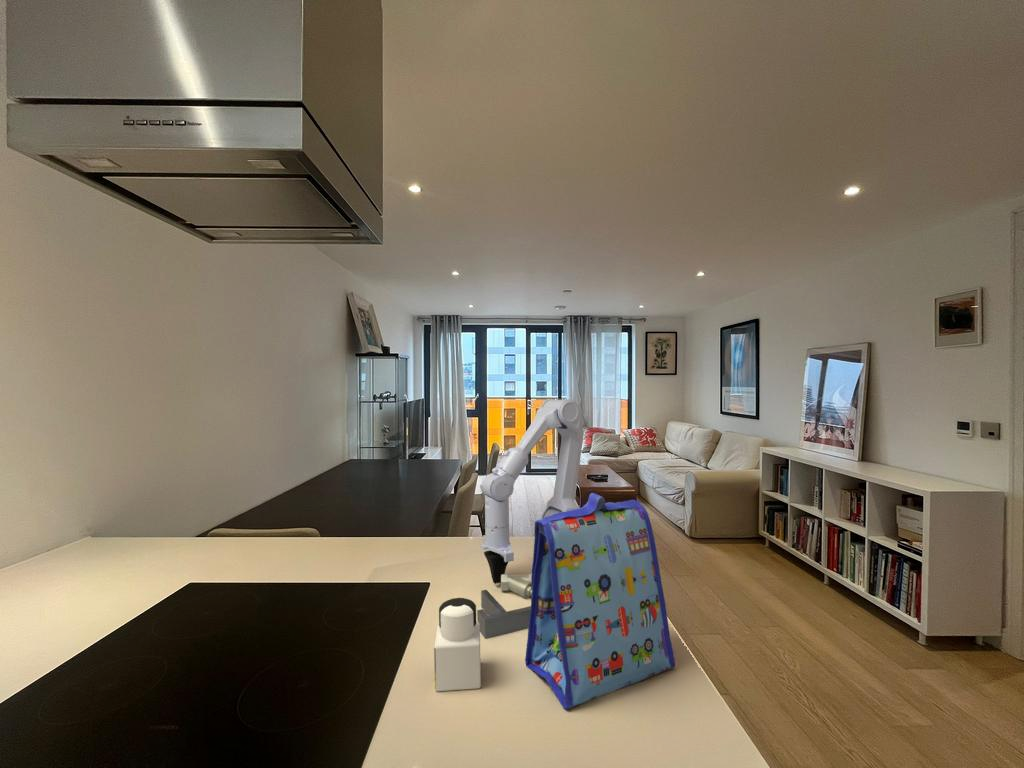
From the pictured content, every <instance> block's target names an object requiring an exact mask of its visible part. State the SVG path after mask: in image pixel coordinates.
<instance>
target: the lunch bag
mask: <svg viewBox="0 0 1024 768" xmlns="http://www.w3.org/2000/svg"><path fill="white" fill-rule="evenodd" d="M578 508H579V509H575V510H570V511H566V512H561V513H556V514H553V515H551V516H548V517H545V518H543V519H542V518H541V519H538V520H535V521H534V532H533V533H534V540H533V541H534V543H533V558H532V567H531V574H532V575H531V581H532V586H533V587H532V596H531V600H530V606H531V608H530V618H529V627H528V628H527V640H526V649H525V659H524V662H525V663H524V664H525V666H526V668H528V669H529V670H530V671H531V672H534V673H536V674H537V675H538V676H540V677H541V678H542V679H545V680H546V682H547V684H548V685H549V687H550V689H551V690H552V692H553V693H554V695H555V696H556V698H557V699H558V701H559V702H560V705H562V706H561V707H562V708H563V709H565V710H568V709H571V708H573V707H575V706H578V705H581V704H584V703H586V702H590V701H592V700H594V699H596V698H598V697H601V696H604V695H607V694H610V693H612V692H614V691H617V690H619V689H622V688H625V687H627V686H630V685H632V684H635V683H637V682H640V681H643V680H645V679H648V678H650V677H652V676H655V675H657V674H660V673H662V672H665V671H668V670H669V669H674V668H675V667H676V659H675V655H674V649H673V644H672V641H671V640H672V639H671V634H670V628H669V627H670V626H669V622H668V613H667V612H668V611H667V606H666V600H665V595H664V588H663V583H662V578H661V577H662V576H661V571H660V570H661V569H660V565H659V559H658V553H657V545H656V541H655V536H654V535H655V534H654V532H653V528H652V523H651V520H650V516H649V513H648V511H647V509H646V507H645V506H644V505H643V504H642V503H641V502H639V501H637V500H636V499H630V500H623V501H617V502H611V501H610V502H609V501H608V502H606V500H605V498H604V497H603V496H601V495H599V494H597V493H595V492H591V493H590V494H589V496H588V500H587V502H586V504H584V505H583V506H582V507H578Z"/></svg>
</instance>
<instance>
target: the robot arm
mask: <svg viewBox="0 0 1024 768" xmlns="http://www.w3.org/2000/svg"><path fill="white" fill-rule="evenodd" d="M582 416H583V409H582V408H581V407H580V405H579V404H578V403H577V401H575V400H573V399H570V398H567V399H556V398H555V399H554V398H548V399H546V400H544V401H543V403H542V404H541V406H540V407H539V408H538V409H537V410H536V414H535V417H534V418H533V420H532V422H531V424H530V425H529V427H528V428H527V430H526V431H525V433H524V434H523V435H522V437H521V439H520V441H519V442H518V444H516V446H514V447H510V448H508V450H504V451H503V453H502V455H503V457H502V458H501V460H500V461H499V462H498V463H497V465H496V467H493V468H492V469H491V472H492V473H491V472H490V473H489V474H487V475H486V476H484V478H483V480H482V483H481V484H480V491H481V493H482V494H483V495H484V526H485V527H484V529H485V532H484V535H482V544H480V549H482V550H483V554H484V557H485V558H486V560H487V564H488V566H489V571H490V575H491V579H492V582H493V583H494V584H501V575H502V574H505V573H506V571H507V566H508V564H509V562H514V561H515V559H514V558H515V557H514V551H513V549H512V545H511V542H510V504H509V503H510V501H509V500H510V497H511V496H512V495H513V493H514V485H515V483H516V481H517V479H518V478H519V477H520V476H521V473H522V472H523V471H524V469H525V468H526V466H527V465H528V463H529V454H530V452H532V451H533V449H534V448H535V447H536V445H537V444H538V443H539V441H540V440H541V439H542V438H543V436H544V435H545V434H546V433H547V432H548V431H550V430H553V429H555V430H556V431H557V432H558V433H559V434H560V436H561V442H560V447H559V448H560V449H559V455H558V462H557V469H556V476H555V481H554V489H553V496H552V497H551V498H550V499H548V501H547V503H546V507H545V509H544V511H543V512H542V515H541V519H543V518H545V517H548V516H551V515H553V514H556V513H561V512H566V511H570V510H575V509H579V508H580V507H579V506H578V505H577V503H576V501H575V497H576V491H577V483H578V478H579V477H578V476H579V470H580V465H581V456H582V448H583V442H584V435H585V433H584V432H585V431H584V430H585V429H584V426H583V421H582ZM484 550H485V551H484Z"/></svg>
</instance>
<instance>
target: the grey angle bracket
mask: <svg viewBox="0 0 1024 768" xmlns="http://www.w3.org/2000/svg"><path fill="white" fill-rule="evenodd" d="M480 599H481V600H480V601H481V609H478V610H477V609H476V622H479V624H480V635H481V636H482V637H483V638H484V639H485V640H486V639H490V638H493V637H498V636H501V635H505V634H506V635H507V634H509V633H513V632H517V631H521V630H526V629H528V627H529V618H530V608H531V605H529V606H525V607H521V608H520V607H519V608H517V609H512V610H508V611H506V609H505V608H504V607H503V606H502V605H501V604H500V603H499V602H498V600H496V599H495V597H494V596H493V595H492V594H491V593H490V592H489V591H488V590H487V589H483V590H481V592H480Z"/></svg>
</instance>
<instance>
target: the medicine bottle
mask: <svg viewBox="0 0 1024 768" xmlns="http://www.w3.org/2000/svg"><path fill="white" fill-rule="evenodd" d="M438 622H439V623H438V624H437V626H436V628H437V629H436V633H435V634H436V635H435V641H434V648H433V650H434V651H433V653H434V656H433V657H434V691H435V692H449V691H461V690H462V691H463V690H464V691H465V690H476V689H481V685H482V679H481V678H482V677H481V671H482V669H481V667H482V666H481V632H480V624H479V622H477V605H476V603H475V602H474V601H473V600H471V599H469V598H465V597H453V598H449V599H447V600H446V601H444V602H442V603H441V605H440V606H439V607H438Z"/></svg>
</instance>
